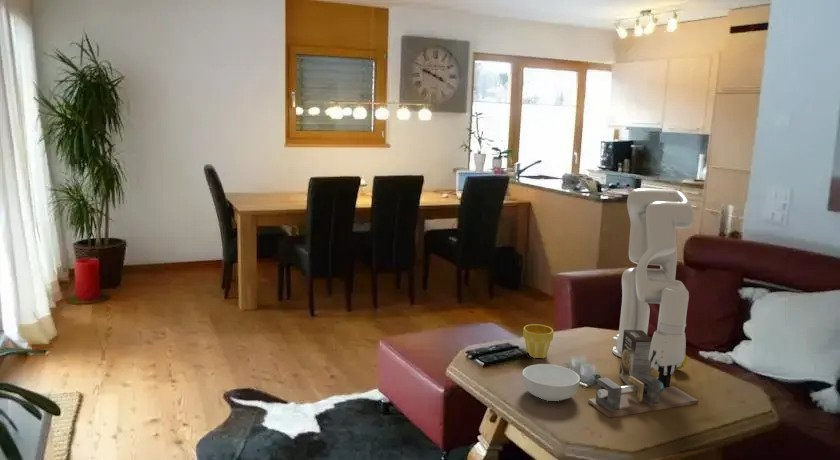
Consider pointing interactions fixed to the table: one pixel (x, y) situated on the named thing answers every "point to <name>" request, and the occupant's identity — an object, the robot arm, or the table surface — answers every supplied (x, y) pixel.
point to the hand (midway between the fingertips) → (663, 385)
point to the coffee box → (635, 354)
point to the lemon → (682, 364)
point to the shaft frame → (638, 397)
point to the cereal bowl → (550, 381)
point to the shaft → (627, 389)
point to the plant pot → (537, 339)
